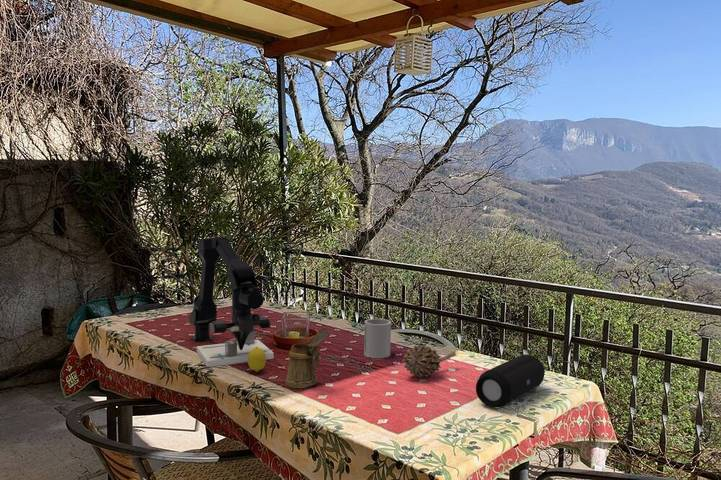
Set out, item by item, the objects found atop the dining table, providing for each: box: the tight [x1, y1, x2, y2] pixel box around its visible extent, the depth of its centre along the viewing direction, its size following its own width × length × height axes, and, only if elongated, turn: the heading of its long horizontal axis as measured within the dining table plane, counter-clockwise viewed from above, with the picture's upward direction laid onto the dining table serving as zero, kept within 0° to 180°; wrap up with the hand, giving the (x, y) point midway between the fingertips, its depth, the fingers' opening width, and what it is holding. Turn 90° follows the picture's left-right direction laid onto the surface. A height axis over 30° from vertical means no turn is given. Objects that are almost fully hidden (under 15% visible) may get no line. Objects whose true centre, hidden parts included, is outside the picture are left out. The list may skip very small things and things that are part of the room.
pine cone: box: [402, 344, 458, 378], centre depth 166 cm, size 22×10×10 cm, turn 133°
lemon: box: [247, 347, 267, 373], centre depth 165 cm, size 6×6×8 cm
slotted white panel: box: [196, 339, 275, 368], centre depth 182 cm, size 18×22×2 cm
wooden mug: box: [284, 327, 328, 389], centre depth 154 cm, size 9×14×18 cm, turn 54°
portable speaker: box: [475, 353, 546, 408], centre depth 148 cm, size 26×10×10 cm, turn 138°
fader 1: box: [224, 339, 237, 356], centre depth 175 cm, size 4×3×4 cm
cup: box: [363, 318, 392, 358], centre depth 184 cm, size 9×9×12 cm
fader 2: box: [245, 330, 256, 344], centre depth 190 cm, size 4×3×4 cm
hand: (240, 349), depth 177 cm, fingers closed
